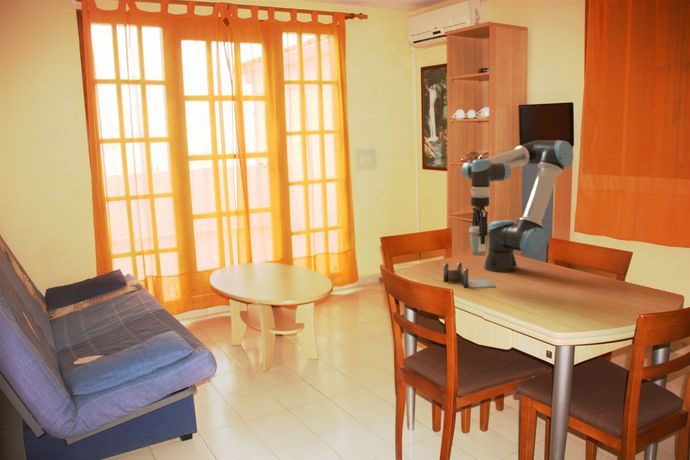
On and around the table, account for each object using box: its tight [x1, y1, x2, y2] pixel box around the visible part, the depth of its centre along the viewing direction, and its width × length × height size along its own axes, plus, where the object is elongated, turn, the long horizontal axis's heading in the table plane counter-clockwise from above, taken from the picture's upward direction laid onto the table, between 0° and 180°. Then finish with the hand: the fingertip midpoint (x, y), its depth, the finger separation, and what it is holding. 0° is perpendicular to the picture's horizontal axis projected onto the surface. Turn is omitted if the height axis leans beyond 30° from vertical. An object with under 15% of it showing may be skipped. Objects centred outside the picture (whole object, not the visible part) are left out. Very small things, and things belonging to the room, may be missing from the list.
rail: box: [443, 262, 469, 289], centre depth 257 cm, size 8×13×8 cm, turn 3°
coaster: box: [468, 279, 497, 289], centre depth 257 cm, size 11×11×1 cm
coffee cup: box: [468, 225, 490, 257], centre depth 254 cm, size 8×8×12 cm
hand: (479, 249), depth 254 cm, fingers closed on coffee cup, 8 cm apart
